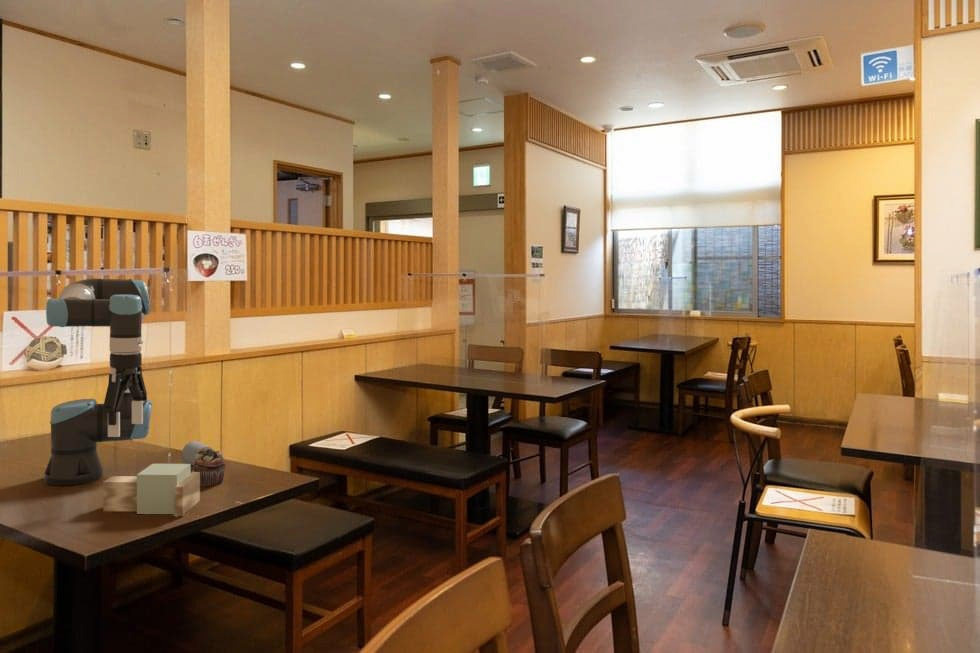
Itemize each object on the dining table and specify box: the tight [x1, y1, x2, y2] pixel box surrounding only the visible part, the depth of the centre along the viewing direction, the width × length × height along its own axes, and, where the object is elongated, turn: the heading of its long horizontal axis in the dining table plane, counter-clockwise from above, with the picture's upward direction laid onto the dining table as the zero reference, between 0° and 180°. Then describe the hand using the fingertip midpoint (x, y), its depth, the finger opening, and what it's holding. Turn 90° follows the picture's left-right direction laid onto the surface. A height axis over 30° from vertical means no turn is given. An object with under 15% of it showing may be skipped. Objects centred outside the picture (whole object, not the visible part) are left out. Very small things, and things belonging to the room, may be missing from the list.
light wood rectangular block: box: [102, 475, 137, 512], centre depth 177 cm, size 16×5×8 cm, turn 95°
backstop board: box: [174, 471, 201, 517], centre depth 178 cm, size 2×13×8 cm, turn 5°
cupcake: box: [191, 449, 227, 487], centre depth 200 cm, size 10×10×10 cm
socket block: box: [136, 463, 192, 515], centre depth 178 cm, size 10×10×11 cm
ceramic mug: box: [181, 440, 215, 466], centre depth 218 cm, size 11×8×8 cm
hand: (126, 430), depth 180 cm, fingers open, 13 cm apart
